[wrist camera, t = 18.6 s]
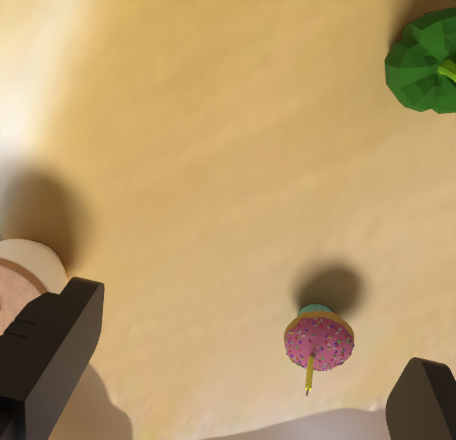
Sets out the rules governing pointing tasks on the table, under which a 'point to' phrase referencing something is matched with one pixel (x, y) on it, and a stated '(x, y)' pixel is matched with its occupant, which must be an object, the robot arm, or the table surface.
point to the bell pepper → (425, 63)
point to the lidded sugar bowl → (26, 276)
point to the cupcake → (318, 340)
